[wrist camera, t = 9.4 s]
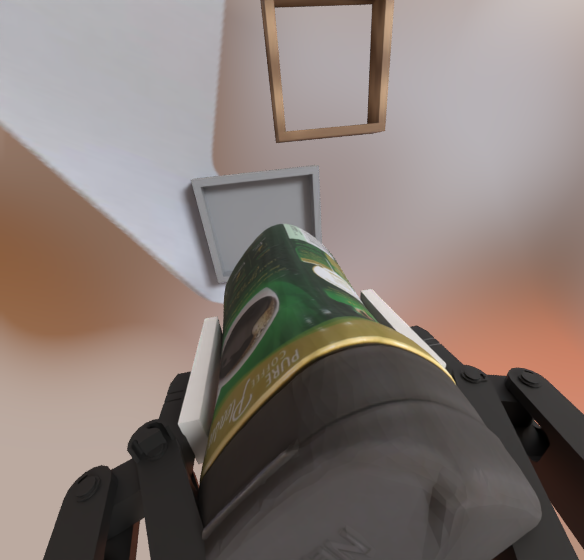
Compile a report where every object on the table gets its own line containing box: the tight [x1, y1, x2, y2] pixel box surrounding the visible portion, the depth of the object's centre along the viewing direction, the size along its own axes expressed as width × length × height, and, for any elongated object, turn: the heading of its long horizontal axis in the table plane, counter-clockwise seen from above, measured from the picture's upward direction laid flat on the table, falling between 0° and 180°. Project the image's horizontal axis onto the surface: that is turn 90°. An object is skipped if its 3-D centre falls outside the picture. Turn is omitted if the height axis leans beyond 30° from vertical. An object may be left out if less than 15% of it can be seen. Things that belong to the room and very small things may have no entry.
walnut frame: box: [261, 0, 394, 143], centre depth 31 cm, size 15×15×4 cm
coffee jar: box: [198, 224, 542, 560], centre depth 14 cm, size 10×8×19 cm
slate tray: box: [191, 166, 322, 283], centre depth 38 cm, size 16×18×3 cm
